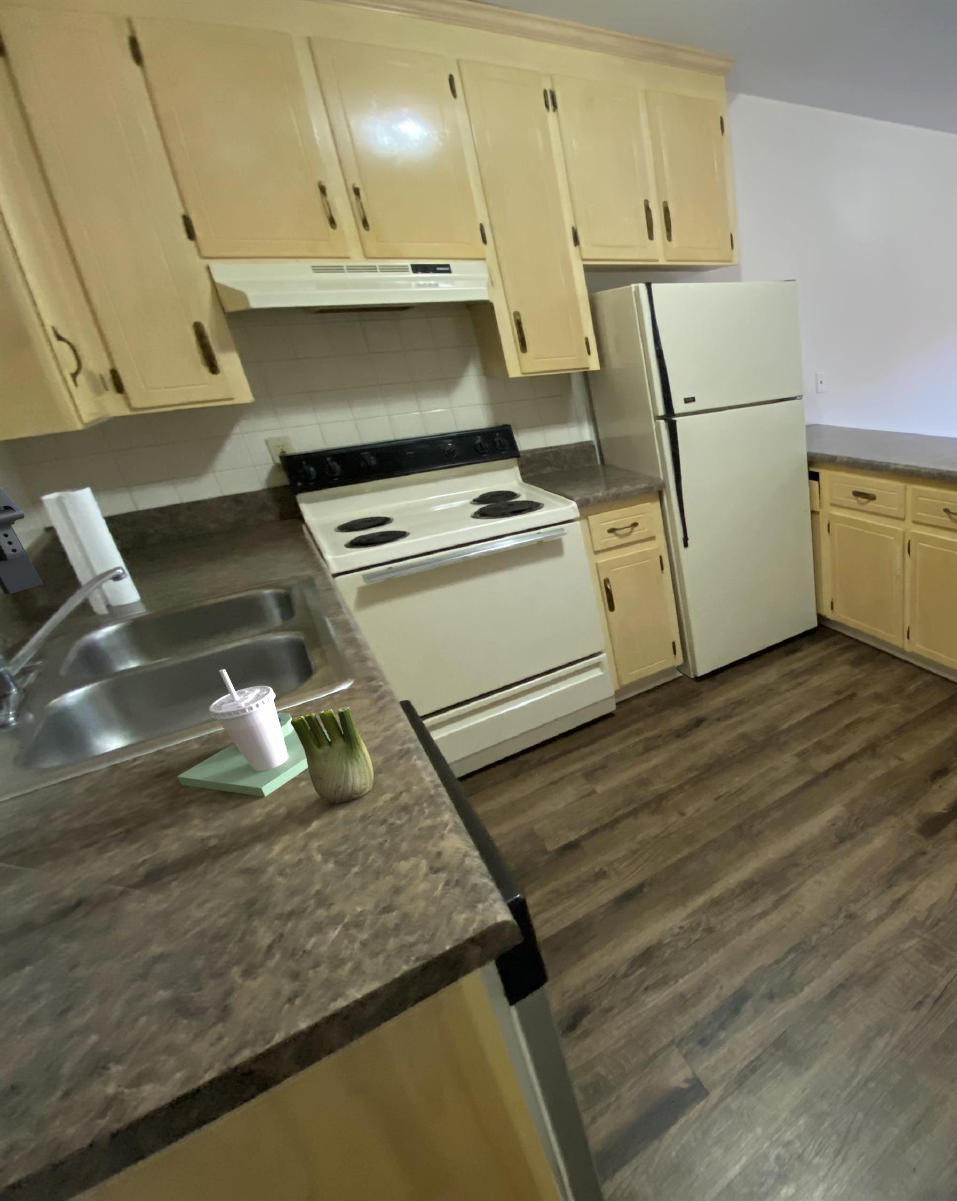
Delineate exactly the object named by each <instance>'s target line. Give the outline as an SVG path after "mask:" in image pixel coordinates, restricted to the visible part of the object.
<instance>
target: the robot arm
mask: <svg viewBox="0 0 957 1201" xmlns="http://www.w3.org/2000/svg"><path fill="white" fill-rule="evenodd" d="M24 518H25V513H24V511H22V509H21V508H20V507H19V506H18V504H16V502H15V501H14V500H13V499H12V498H11V497H10V496H9V494H8V493H7V492H6V491H5V490H4V489H3V488H2V487H1V486H0V588H1V590H2V592H3V593H4V595H11V594H15V593H18V592H21V591H26V590H28V589H31V588H35V587H39V586H42V585H44V583H43V581H42V579H41V577H40V575H39V574H38V572H37V570H36V568H35V566H34V564H33V562H32V561H31V559H30V557H29V555H28V553H27V551H26V550H25V548H24V546H23V544H22V542H21V540H20V539H19V537H18V535H17V533H16V531H15V530H14V528H13V525H15V524H16V521H18V520H23V519H24Z"/></svg>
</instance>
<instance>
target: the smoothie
mask: <svg viewBox="0 0 957 1201" xmlns="http://www.w3.org/2000/svg"><path fill="white" fill-rule="evenodd" d="M218 672H219V674H220V676H221V678H222V680H223V683H224V684H225V687H226V689H227V691H228V693H227V694H225V695H223V696H221V697H220V698H218V699H216V700H214V702H212V703H211V704H210V706H209V707H208V711H209V713H210V716H211V718H213V719H215V720H217V721H218V723H219V724H220V725H221V727H222V728H223V730H224V731H225V732H226V734H227V735H228V736H229V738H230V739H231V741H232V742H233V743H235V745H236V746H237V747H238V749H239V750H240V752H241V753H242V754H243V756H244V757H245V759H246V760H247V761H248V763H249V764H250V766H251V767H252V768H253V770H254V771H266V770H270V769H272V768H275V767H277V766H279V765H281V764H282V763H284V762H285V761H286V760H287V758H288V754H287V750H286V747H285V743H284V739H283V735H282V731H281V727H280V723H279V719H278V716H277V713H278V712H277V708H276V705H275V701H274V700H275V699H276V693H275V692H274V689H273V688H272V687H270V686H267V685H256V686H255V685H254V686H250V687H246V688H241V689H238V690H235V688H234V686H233V683H232V680H231V679H230V677H229V675H228V673H227V670H226V669H225V668H222V669H219V670H218Z"/></svg>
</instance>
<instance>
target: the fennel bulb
mask: <svg viewBox="0 0 957 1201" xmlns="http://www.w3.org/2000/svg"><path fill="white" fill-rule="evenodd" d="M337 716H338V719H339V722H338V720H337V717H336V715H335V713H334V710H333V708H328V709H327V708H326V709H323V710H322V711H320V712H319V713H318V717H319V719H320V721H321V723H322V725H323V726H322V725H321V723H320V722H319V719H318V718H317V716H316V714H315V712H310V713H307V714H305V715H300V716H295V717H294V718H292V720H291V725H292V726H293V728H294V730H295V732H296V733H297V735H298V737H299V740H300V741H301V744H302V746H303V748H304V751H305V755H306V759H307V765H308V768H307V769H308V774H309V778H310V781H311V783H312V785H313V789H314V790H315V792H316V794H317V795H318V796H319V797H320V798H322V799H323V800H325V801H326V802H328V803H331V804H336V805H338V804H345V803H350V802H353V801H355V800H358V799H360V798H362V797H363V796H365V795H366V794H367V793H369V791H371V790H372V788H373V784H374V777H375V775H374V767H373V763H372V759H371V756H370V754H369V753H370V752H369V750H368V748H367V747H366V744H365V742H364V741H363V739H362V737H361V735H360V732H359V730H358V727H357V725H356V722H355V718H354V717H353V713H352V709H351V707H350V706H349V707H348V706H347V707H345V706H344V707H341V708H338V710H337ZM339 724H340V725H339ZM323 728H324V729H323ZM323 730H326V731H327V734H328V736H329V739H330V740H331V741H329V739H328V738H327V736H326V734H325V732H324V731H323ZM342 732H343V733H342Z"/></svg>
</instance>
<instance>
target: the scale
mask: <svg viewBox="0 0 957 1201" xmlns="http://www.w3.org/2000/svg"><path fill="white" fill-rule="evenodd" d="M277 716H278V719H279V723H280V727H281V731H282V735H283V739H284V743H285V747H286V750H287V754H288V758H287V760H286V761H285V762H284V763H282V764H281V765H279V766H277V767H275V768H272V769H270V770H266V771H254V770H253V768H252V767H251V766H250V764H249V763H248V761H247V760H246V759H245V757H244V756H243V754H242V753H241V752H240V750H239V749H238V747H237V746H236V745H235V743H234V742H233V743H232V744H230V745H228V746H227V747H225V748H223V749H222V750H220V751H218V752H215V754H213V755H211V756H210V757H208V758H205V759H204V760H202V761H201V762H199V763H198V764H195V765H194V766H192V767H191V768H189V769H188V770H185V771H184V772H182V773H181V774H179V775H177V776H176V778H177V780H178V781H179V783H180V785H181V786H186V787H187V786H188V787H193V788H201V789H208V790H214V791H222V792H227V793H228V792H229V793H236V794H244V795H250V796H257V797H264V798H266V797H268V796H269V795H270V794H272V793H273V792H274V791H276V790H278V789H279V788H280V787H282V786H283V785H285V784H286V783H288V782H289V781H290V780H292V779H293V778H295V777H296V776H298V775H299V774H300V773H302V772H304V771H305V770H306V769H308V765H307V759H306V755H305V751H304V748H303V746H302V744H301V741H300V740H299V737H298V735H297V733H296V732H295V730H294V728H293V726H292V725H291V720H292V719H293V718H292V716H291V715H290V713H289V712H277ZM323 731H324V732H325V734H326V736H327V738H328V739H329V736H328V734H327V731H326V729H323ZM342 733H343V731H342ZM329 741H331V740H330V739H329Z"/></svg>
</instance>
